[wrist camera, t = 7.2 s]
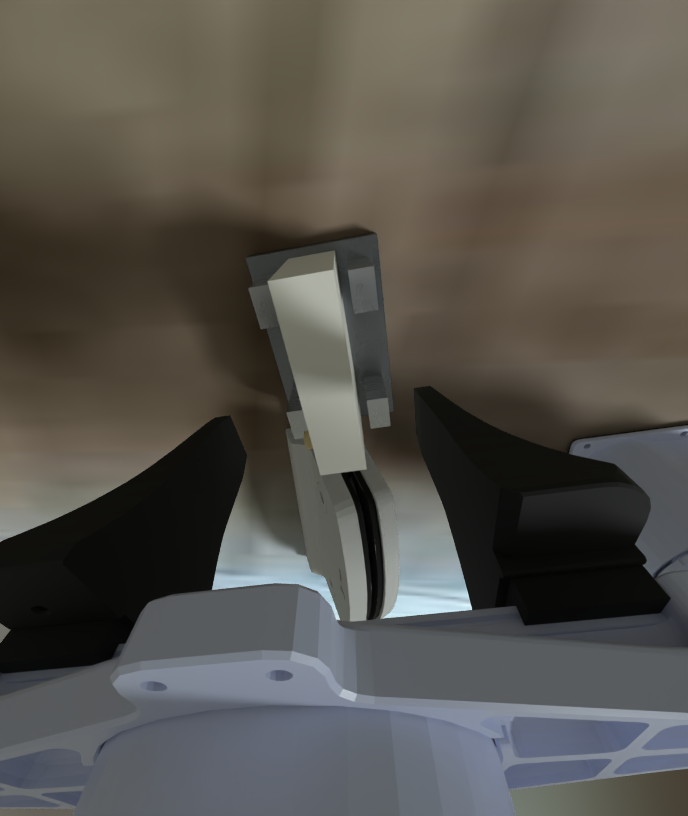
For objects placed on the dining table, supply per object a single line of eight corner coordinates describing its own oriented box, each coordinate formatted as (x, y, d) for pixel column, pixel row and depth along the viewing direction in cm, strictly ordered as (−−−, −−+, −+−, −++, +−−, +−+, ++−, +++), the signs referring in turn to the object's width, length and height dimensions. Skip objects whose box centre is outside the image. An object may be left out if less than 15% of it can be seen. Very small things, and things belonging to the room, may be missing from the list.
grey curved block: (284, 424, 24) (325, 531, 16) (344, 410, 25) (409, 502, 17) (306, 558, 33) (340, 670, 25) (350, 543, 34) (395, 644, 26)
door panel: (334, 250, 17) (333, 269, 12) (360, 408, 22) (366, 469, 17) (279, 260, 17) (254, 283, 12) (317, 415, 22) (311, 476, 17)
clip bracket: (375, 232, 17) (384, 238, 14) (391, 403, 23) (400, 437, 20) (249, 255, 18) (229, 267, 15) (296, 417, 24) (289, 453, 20)
